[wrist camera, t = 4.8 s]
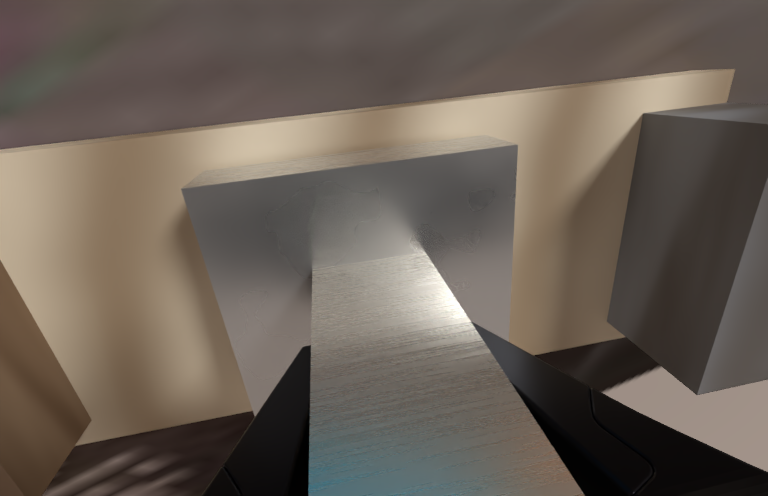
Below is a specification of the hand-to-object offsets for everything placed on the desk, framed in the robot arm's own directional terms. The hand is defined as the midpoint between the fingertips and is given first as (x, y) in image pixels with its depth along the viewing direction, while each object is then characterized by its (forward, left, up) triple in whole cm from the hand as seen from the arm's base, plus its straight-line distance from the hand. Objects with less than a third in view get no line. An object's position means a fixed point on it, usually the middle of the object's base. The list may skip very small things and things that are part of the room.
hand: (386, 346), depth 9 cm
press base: (0, 0, -6) cm, 6 cm away
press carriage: (0, 0, -4) cm, 4 cm away
